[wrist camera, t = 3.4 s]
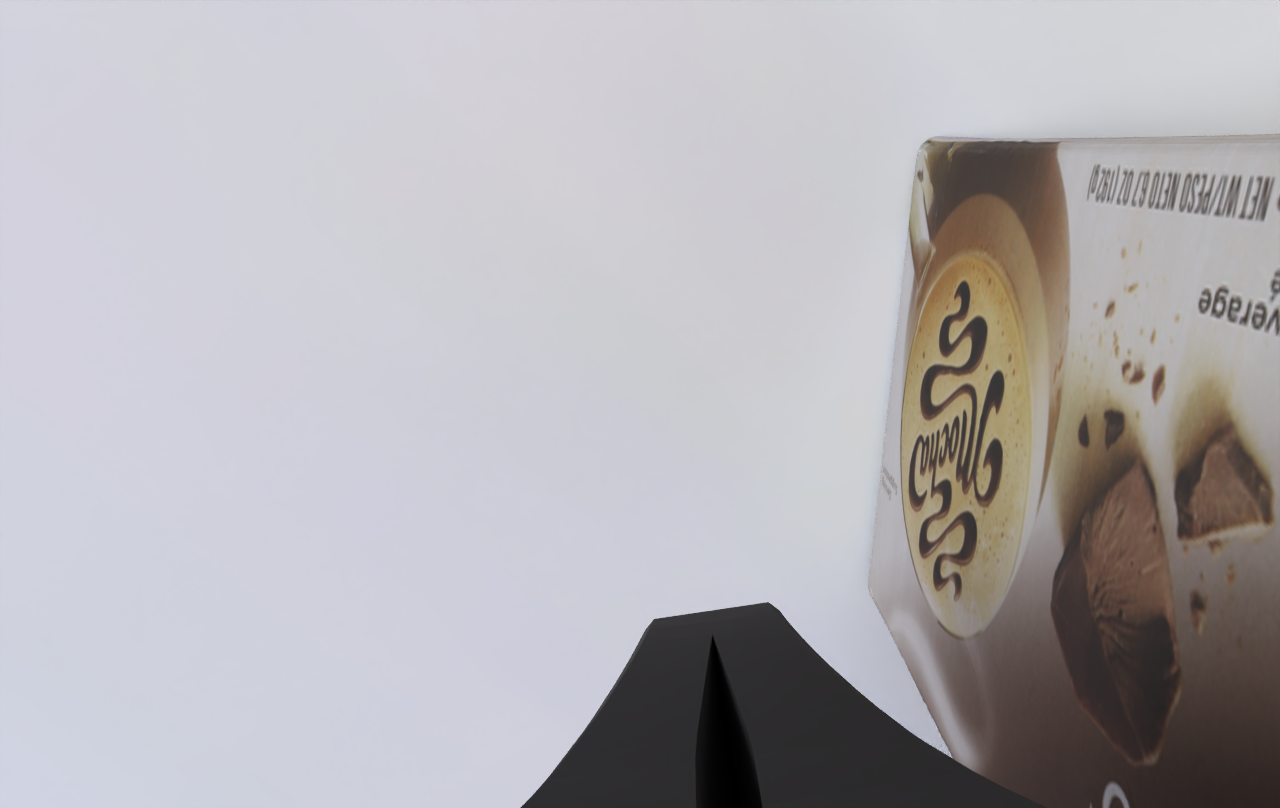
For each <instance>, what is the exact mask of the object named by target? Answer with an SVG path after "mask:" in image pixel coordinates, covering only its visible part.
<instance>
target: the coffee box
mask: <svg viewBox="0 0 1280 808" xmlns="http://www.w3.org/2000/svg"><path fill="white" fill-rule="evenodd" d="M868 588H869V592H870V595H871V597H872V599H873V600H874V602H875V604H876V606H877V608H878V610H879V612H880V614H881V616H882V618H883V619H884V621H885V623H886V625H887V627H888V629H889V631H890V633H891V635H892V637H893V639H894V641H895V643H896V645H897V647H898V649H899V651H900V653H901V655H902V657H903V659H904V660H905V663H906V665H907V667H908V669H909V671H910V673H911V675H912V677H913V679H914V681H915V684H916V686H917V688H918V690H919V692H920V694H921V696H922V698H923V701H924V703H925V704H926V705H927V708H928V710H929V713H930V714H931V716H932V718H933V719H934V721H935V723H936V726H937V728H938V730H939V732H940V734H941V736H942V738H943V740H944V742H945V744H946V746H947V747H948V749H949V751H950V753H951V755H952V757H953V759H954V760H956V761H957V762H959V763H961V764H962V765H964V766H966V767H967V768H969V769H971V770H972V771H974V772H976V773H978V774H980V775H982V776H984V777H985V778H987V779H989V780H991V781H993V782H995V783H997V784H999V785H1001V786H1002V787H1004V788H1006V789H1009V790H1011V791H1013V792H1015V793H1017V794H1019V795H1021V796H1024V797H1026V798H1028V799H1030V800H1032V801H1034V802H1036V803H1038V804H1041V805H1043V806H1045V807H1047V808H1280V134H1265V135H1230V136H1184V137H1134V138H1048V139H981V138H958V137H932V138H930V139H928V140H927V141H926V142H924V143H923V144H922V145H921V147H920V149H919V151H918V155H917V162H916V169H915V176H914V182H913V191H912V200H911V210H910V219H909V228H908V237H907V246H906V255H905V263H904V272H903V281H902V290H901V299H900V308H899V317H898V325H897V334H896V343H895V352H894V361H893V370H892V378H891V387H890V396H889V405H888V414H887V423H886V432H885V441H884V449H883V458H882V467H881V476H880V485H879V494H878V503H877V513H876V522H875V531H874V540H873V548H872V556H871V563H870V571H869V579H868Z"/></svg>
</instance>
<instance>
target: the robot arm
mask: <svg viewBox="0 0 1280 808" xmlns="http://www.w3.org/2000/svg"><path fill="white" fill-rule="evenodd" d="M521 808H1047V807H1045V806H1043V805H1041V804H1038V803H1036V802H1034V801H1032V800H1030V799H1028V798H1026V797H1024V796H1021V795H1019V794H1017V793H1015V792H1013V791H1011V790H1009V789H1006V788H1004V787H1002V786H1001V785H999V784H997V783H995V782H993V781H991V780H989V779H987V778H985V777H984V776H982V775H980V774H978V773H976V772H974V771H972V770H971V769H969V768H967V767H966V766H964V765H962V764H961V763H959V762H957V761H956V760H954V759H952V758H951V757H949V756H947V755H946V754H944V753H942V752H941V751H939V750H937V749H936V748H934V747H932V746H931V745H929V744H927V743H926V742H924V741H923V740H921V739H920V738H918V737H917V736H915V735H914V734H912V733H911V732H909V731H908V730H907V729H905V728H904V727H903V726H901V725H900V724H899V723H898V722H896V721H895V720H894V719H892V718H891V717H890V716H888V715H887V714H886V713H884V712H883V711H882V710H880V709H879V708H878V707H877V706H875V705H874V704H873V703H872V702H871V701H869V700H868V699H867V698H866V697H865V696H863V695H862V694H861V693H860V692H859V691H857V690H856V689H855V688H854V687H853V686H852V685H851V684H850V683H849V682H847V681H846V680H845V679H844V678H843V677H842V676H841V675H840V674H839V673H837V672H836V671H835V670H834V669H833V668H832V667H831V666H830V665H829V664H828V663H827V662H826V661H825V660H823V659H822V658H821V657H820V656H819V655H818V654H817V653H816V652H815V651H814V650H813V649H812V647H811V646H810V645H809V644H808V643H807V642H806V641H805V640H804V639H803V638H802V637H801V636H800V635H799V634H798V633H797V631H796V630H795V629H794V628H793V627H792V626H791V625H790V623H789V622H788V621H787V620H786V618H785V617H784V616H783V615H782V613H781V612H780V611H779V610H778V609H777V608H775V607H774V606H773V605H771V604H770V603H769V602H767V603H760V604H754V605H747V606H740V607H733V608H726V609H720V610H713V611H706V612H699V613H693V614H686V615H679V616H672V617H665V618H659V619H654V620H653V621H652V622H651V624H650V625H649V626H648V628H647V629H646V630H645V632H644V634H643V636H642V638H641V639H640V641H639V643H638V645H637V647H636V649H635V651H634V652H633V654H632V656H631V658H630V660H629V661H628V663H627V665H626V667H625V668H624V670H623V672H622V673H621V675H620V677H619V678H618V680H617V682H616V683H615V685H614V686H613V688H612V690H611V691H610V693H609V694H608V696H607V697H606V699H605V700H604V702H603V703H602V705H601V706H600V708H599V709H598V711H597V713H596V714H595V716H594V717H593V719H592V720H591V722H590V723H589V724H588V726H587V727H586V729H585V730H584V732H583V733H582V734H581V735H580V737H579V738H578V739H577V741H576V742H575V743H574V745H573V746H572V747H571V749H570V750H569V751H568V753H567V754H566V755H565V756H564V758H563V759H562V760H561V762H560V763H559V764H558V766H557V767H556V768H555V770H554V771H553V772H552V774H551V775H550V776H549V777H548V778H547V780H546V781H545V782H544V783H543V784H542V785H541V787H540V788H539V789H538V790H537V791H536V792H535V793H534V794H533V796H532V797H531V798H530V799H529V800H528V801H527V802H526V803H525V804H524V805H523V806H522V807H521Z"/></svg>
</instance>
